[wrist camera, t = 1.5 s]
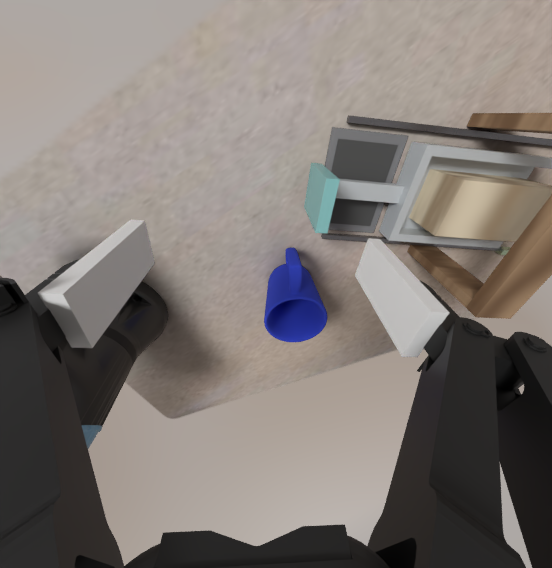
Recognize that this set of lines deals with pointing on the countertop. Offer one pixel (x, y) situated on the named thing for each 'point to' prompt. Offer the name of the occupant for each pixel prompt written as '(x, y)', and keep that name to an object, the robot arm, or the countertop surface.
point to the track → (437, 130)
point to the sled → (413, 188)
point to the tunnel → (520, 258)
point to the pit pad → (361, 172)
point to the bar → (478, 205)
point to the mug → (293, 302)
